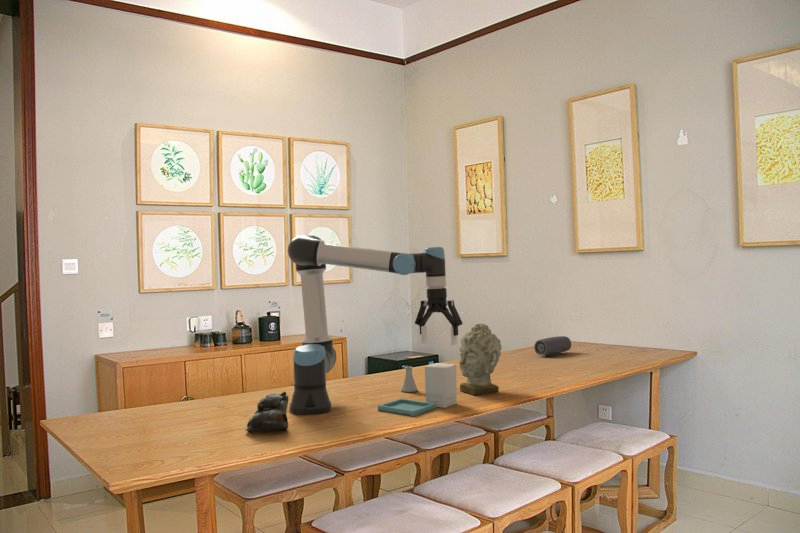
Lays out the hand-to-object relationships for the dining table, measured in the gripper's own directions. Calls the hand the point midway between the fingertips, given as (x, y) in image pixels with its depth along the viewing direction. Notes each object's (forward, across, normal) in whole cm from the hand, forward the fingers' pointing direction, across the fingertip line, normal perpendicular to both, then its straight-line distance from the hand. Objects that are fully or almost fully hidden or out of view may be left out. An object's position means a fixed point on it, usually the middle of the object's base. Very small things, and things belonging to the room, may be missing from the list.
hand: (439, 343), depth 246 cm
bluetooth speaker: (+25, +15, -131) cm, 134 cm away
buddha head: (+24, -1, -26) cm, 35 cm away
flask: (+22, +24, -11) cm, 35 cm away
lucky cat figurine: (+21, +26, +63) cm, 71 cm away
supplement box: (+23, -1, +2) cm, 23 cm away
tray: (+22, +5, +15) cm, 28 cm away
